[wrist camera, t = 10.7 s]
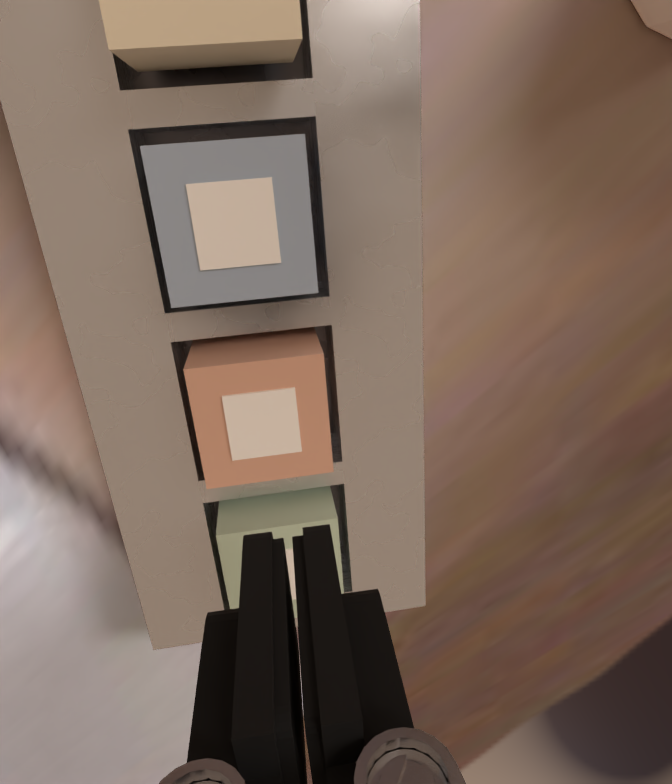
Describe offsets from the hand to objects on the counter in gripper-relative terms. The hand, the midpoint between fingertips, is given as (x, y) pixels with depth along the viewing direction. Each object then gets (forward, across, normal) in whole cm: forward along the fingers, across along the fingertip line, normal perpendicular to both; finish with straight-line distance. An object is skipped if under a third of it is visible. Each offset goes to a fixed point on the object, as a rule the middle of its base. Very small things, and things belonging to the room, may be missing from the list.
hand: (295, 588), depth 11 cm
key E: (+12, +1, +7) cm, 14 cm away
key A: (+12, +1, +1) cm, 12 cm away
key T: (+12, +1, -6) cm, 13 cm away
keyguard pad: (+13, +1, -2) cm, 13 cm away
